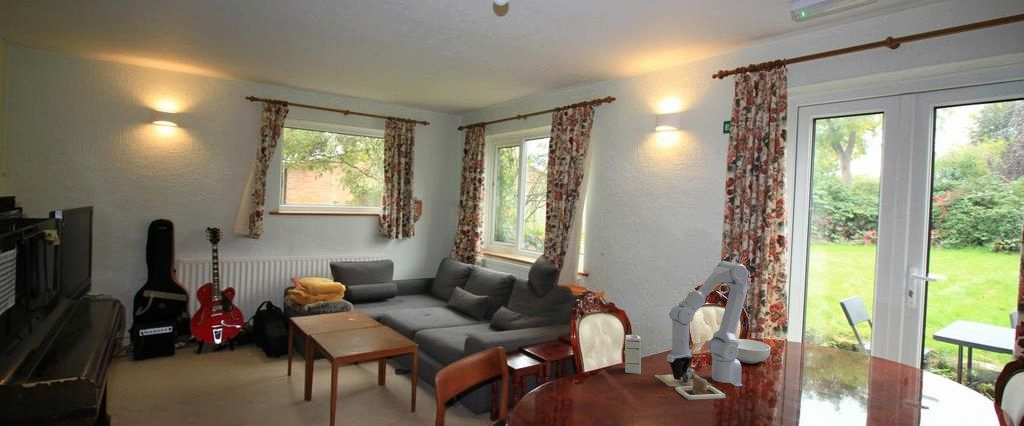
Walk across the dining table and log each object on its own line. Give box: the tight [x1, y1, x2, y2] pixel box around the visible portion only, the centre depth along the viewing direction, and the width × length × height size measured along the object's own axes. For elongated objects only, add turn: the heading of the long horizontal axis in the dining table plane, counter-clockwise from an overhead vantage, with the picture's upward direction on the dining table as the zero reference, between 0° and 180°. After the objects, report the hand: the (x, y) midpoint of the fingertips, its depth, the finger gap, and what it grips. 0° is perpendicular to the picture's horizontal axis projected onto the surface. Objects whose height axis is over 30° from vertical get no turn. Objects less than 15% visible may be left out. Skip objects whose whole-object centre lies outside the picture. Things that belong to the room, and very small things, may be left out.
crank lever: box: [683, 367, 696, 385], centre depth 178 cm, size 13×3×4 cm, turn 152°
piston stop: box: [692, 377, 708, 395], centre depth 166 cm, size 4×4×6 cm
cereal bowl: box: [736, 338, 771, 364], centre depth 210 cm, size 17×17×7 cm
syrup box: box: [624, 334, 642, 375], centre depth 189 cm, size 6×6×14 cm
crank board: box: [654, 373, 713, 388], centre depth 179 cm, size 16×12×2 cm
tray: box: [674, 385, 727, 401], centre depth 166 cm, size 13×9×2 cm
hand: (679, 378), depth 177 cm, fingers open, 3 cm apart
